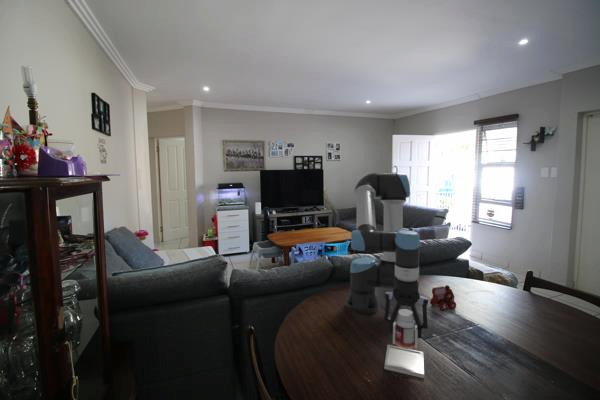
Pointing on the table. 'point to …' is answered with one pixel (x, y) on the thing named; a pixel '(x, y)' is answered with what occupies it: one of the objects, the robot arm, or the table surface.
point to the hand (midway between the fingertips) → (404, 343)
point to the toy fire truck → (443, 298)
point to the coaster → (404, 361)
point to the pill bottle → (405, 329)
